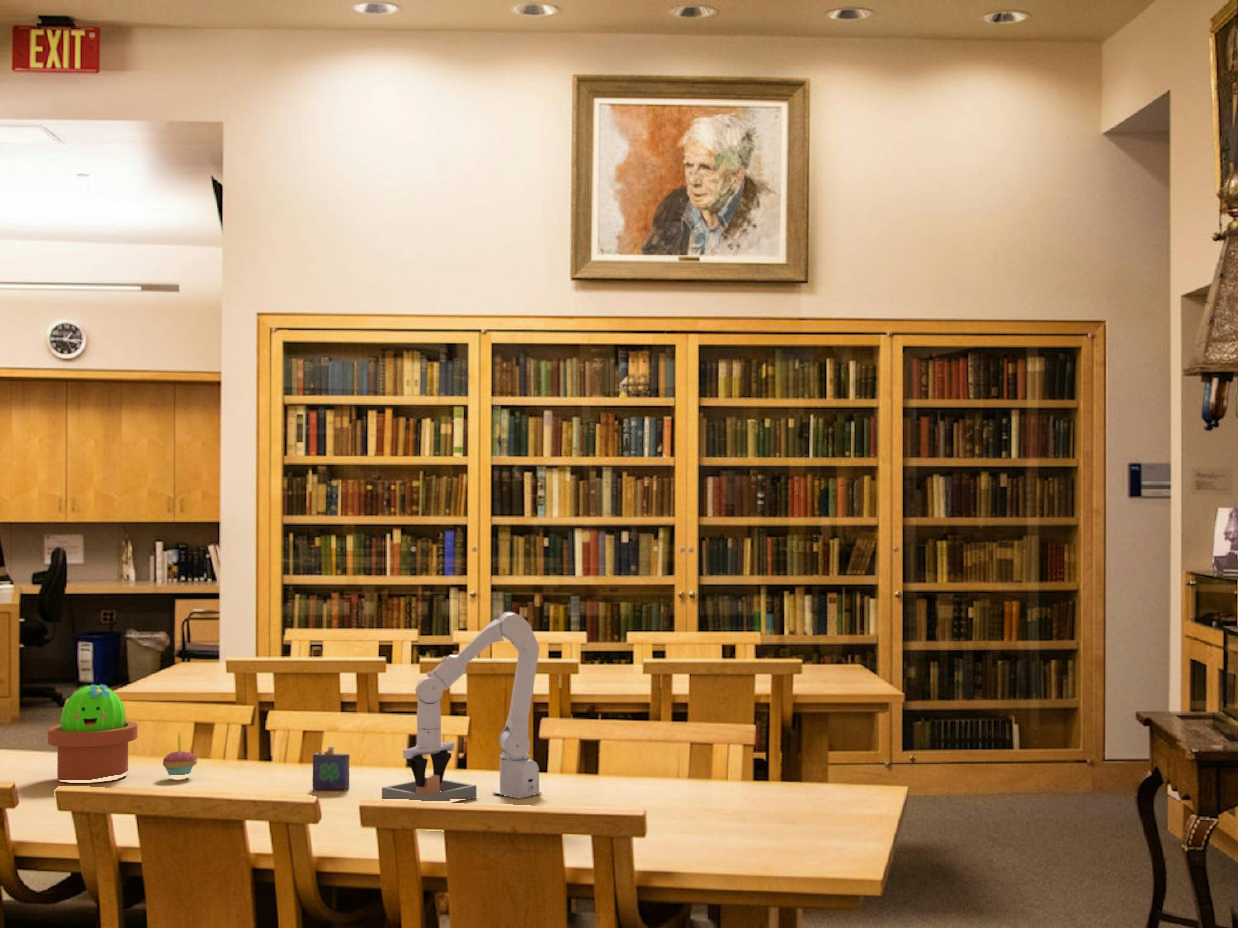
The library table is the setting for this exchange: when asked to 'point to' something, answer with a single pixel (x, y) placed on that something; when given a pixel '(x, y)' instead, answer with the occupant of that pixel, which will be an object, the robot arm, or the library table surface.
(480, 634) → the robot arm
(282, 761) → the library table surface
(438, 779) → the block
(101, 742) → the potted cactus
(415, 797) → the bin
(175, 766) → the cupcake
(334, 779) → the flask
